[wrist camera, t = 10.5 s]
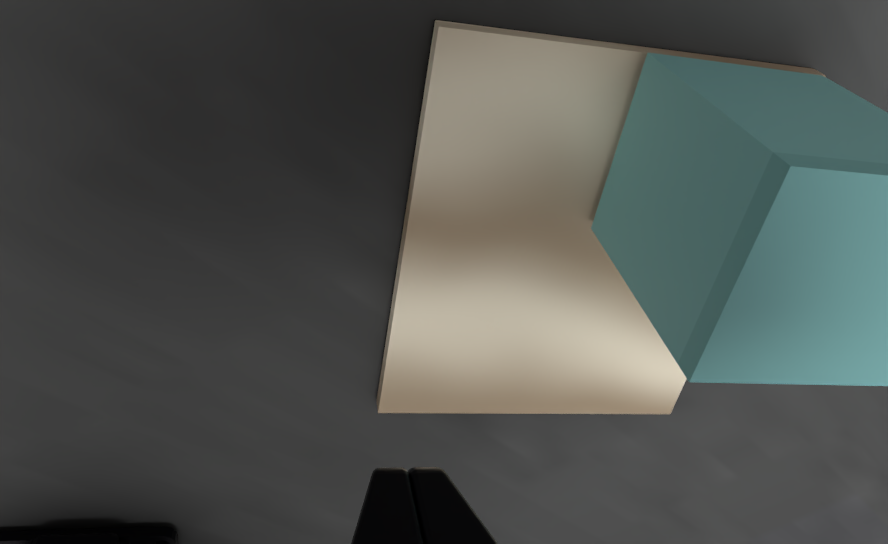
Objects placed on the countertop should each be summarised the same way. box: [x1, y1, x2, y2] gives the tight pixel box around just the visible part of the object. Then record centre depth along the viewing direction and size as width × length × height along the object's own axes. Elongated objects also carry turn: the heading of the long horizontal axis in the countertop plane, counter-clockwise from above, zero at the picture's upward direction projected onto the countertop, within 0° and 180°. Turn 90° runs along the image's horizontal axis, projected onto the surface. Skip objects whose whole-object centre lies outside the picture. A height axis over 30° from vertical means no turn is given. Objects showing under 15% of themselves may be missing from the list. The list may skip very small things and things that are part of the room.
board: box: [377, 20, 826, 414], centre depth 22 cm, size 13×11×1 cm
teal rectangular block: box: [591, 53, 888, 386], centre depth 18 cm, size 5×5×7 cm
